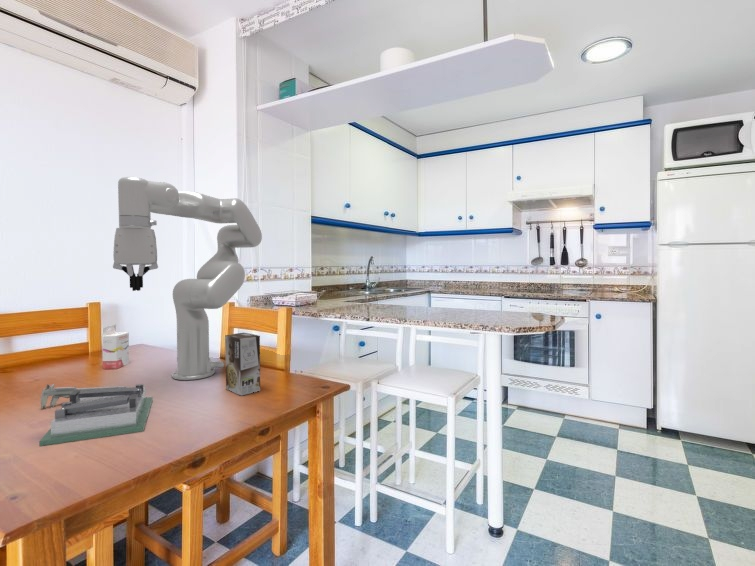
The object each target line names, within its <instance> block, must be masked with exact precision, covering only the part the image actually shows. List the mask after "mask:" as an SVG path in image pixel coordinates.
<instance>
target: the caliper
mask: <svg viewBox="0 0 755 566" xmlns="http://www.w3.org/2000/svg"><path fill="white" fill-rule="evenodd" d="M55 385H56V384H55V383H52V384H51V385H50V384H49V383H47V384H46V386H45V387H44V388H43V389H42V392H41V395H40V408H42V410H45V409H46V406H47V402H48V399H49V397H51V400H50V406H49V407H50V408H51V407H52V408H54V407H55V405H56V404H57V402H59V399H60V398H65V399H70V394H71V393H72V392H73V391H75V390H80V392H81V391H82V390H95V389H113V388H127V386H125V385H119V386H99V387H79V388H78V387H76V386H67V387H66V386H62V387H55Z"/></svg>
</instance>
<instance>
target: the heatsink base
mask: <svg viewBox="0 0 755 566" xmlns="http://www.w3.org/2000/svg"><path fill="white" fill-rule="evenodd" d="M135 387H142V390H141V389H139V390H133V395H120V396H104V397H88V398H78V394H79V393H80V390H75V391H73V392H72V393H71V394H70V398H69V401H66V402H62V403H61V408H62V407H63V406H64V405H72V404H78V403H85V402H91V401H98V400H104V399H110V398H117V397H123V396H129V402H128V404H124V405H118V406H111V407H105V408H99V409H93V410H87V411H81V412H75V413H68V414H66V409H61V408H60V409H59V408H58V409H56V410H55V411H54V418H53V419H52V420H51V421H50V428H49V430H48V431H47V432H46V433H45V434H44V435H43V437H41V439H40V440H39V441H38V442H39V447H42V446H49V445H51V446H52V445H58V444H63V443H70V442H79V441H84V440H91V439H92V440H93V439H97V438H105V437H112V436H113V437H114V436H119V435H125V434H133V433H139V432H140V433H141V432H144V430H145V427H146V425H147V421H148V417H149V413H150V411H151V407H152V405H153V399H154V398H153V397H154V396H147V397H146V387H144V383H139V384H135Z"/></svg>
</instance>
